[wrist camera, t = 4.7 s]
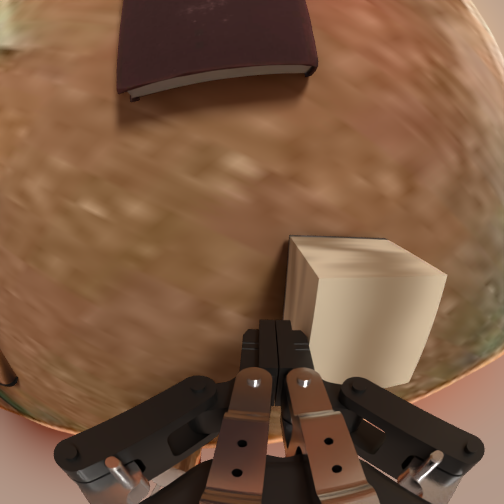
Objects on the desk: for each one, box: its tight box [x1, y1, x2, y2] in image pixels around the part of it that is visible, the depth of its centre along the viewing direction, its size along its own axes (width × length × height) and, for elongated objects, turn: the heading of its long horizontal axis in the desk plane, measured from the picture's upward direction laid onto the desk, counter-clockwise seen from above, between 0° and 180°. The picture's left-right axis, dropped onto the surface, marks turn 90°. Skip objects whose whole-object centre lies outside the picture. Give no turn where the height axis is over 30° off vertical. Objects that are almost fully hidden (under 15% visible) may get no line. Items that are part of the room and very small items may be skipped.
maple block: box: [282, 235, 447, 388], centre depth 15 cm, size 7×7×7 cm
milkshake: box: [150, 447, 202, 496], centre depth 19 cm, size 4×5×10 cm
